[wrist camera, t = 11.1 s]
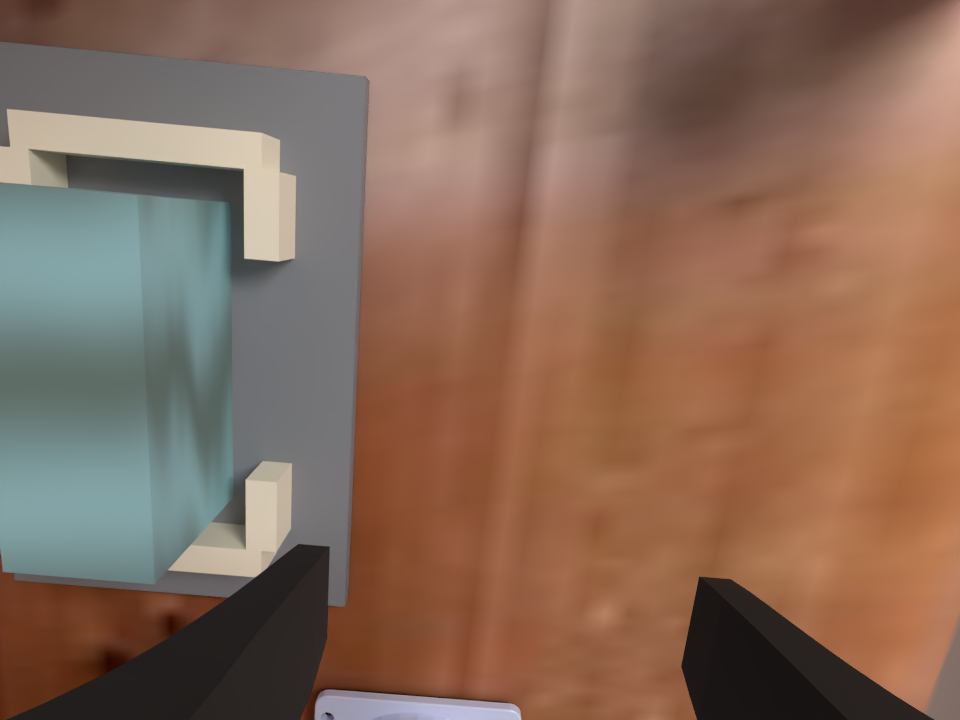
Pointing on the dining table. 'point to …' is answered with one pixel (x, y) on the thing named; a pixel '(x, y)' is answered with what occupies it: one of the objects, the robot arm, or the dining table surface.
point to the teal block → (112, 379)
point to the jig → (232, 264)
